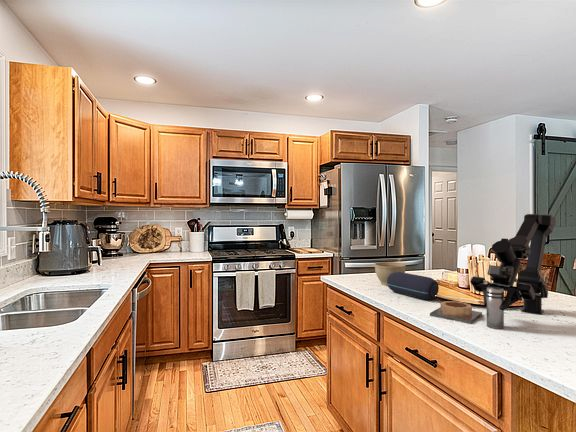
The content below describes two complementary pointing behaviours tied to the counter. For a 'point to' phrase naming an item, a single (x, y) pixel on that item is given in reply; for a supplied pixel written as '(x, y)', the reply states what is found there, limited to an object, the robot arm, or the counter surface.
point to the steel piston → (495, 307)
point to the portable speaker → (413, 285)
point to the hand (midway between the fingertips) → (493, 308)
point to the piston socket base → (456, 312)
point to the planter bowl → (388, 270)
